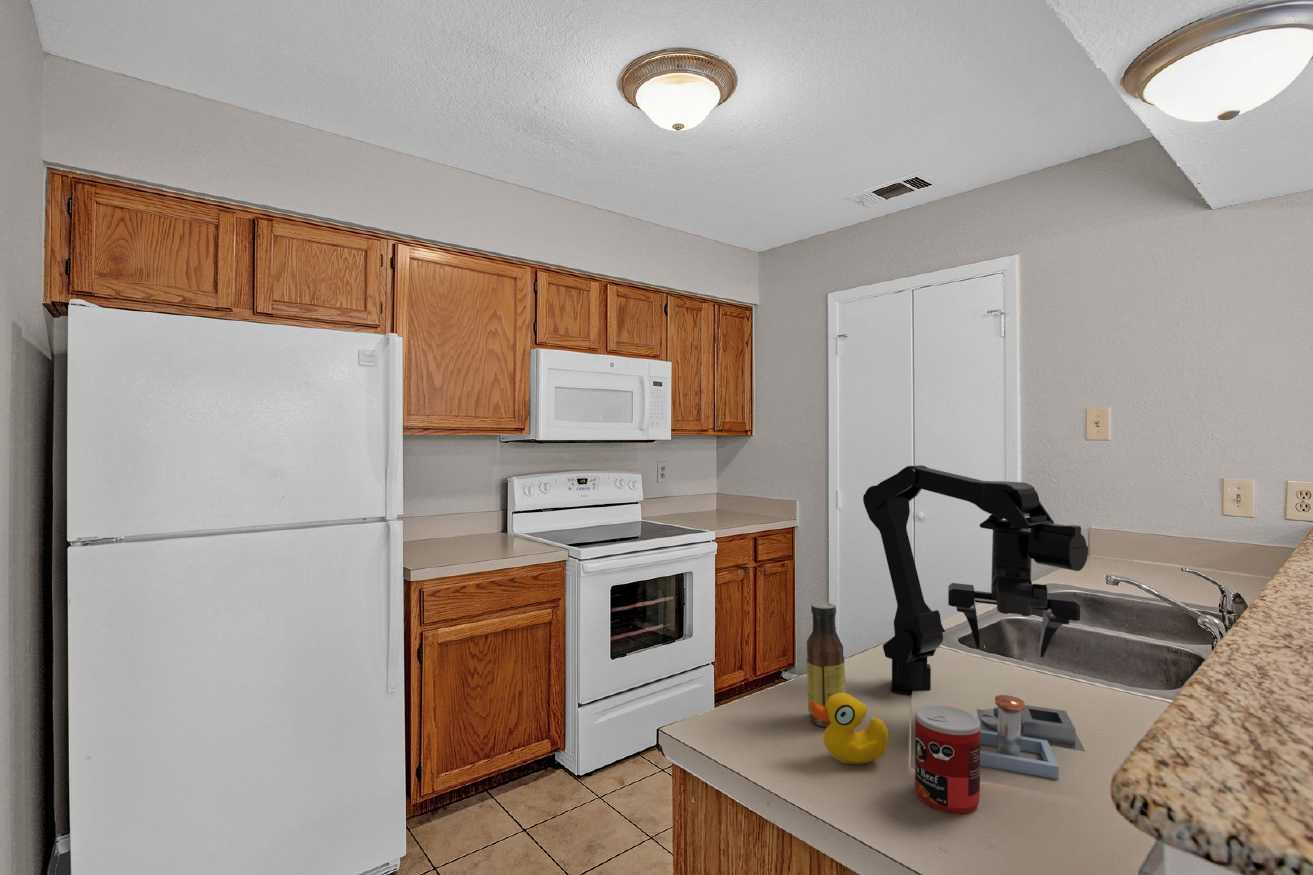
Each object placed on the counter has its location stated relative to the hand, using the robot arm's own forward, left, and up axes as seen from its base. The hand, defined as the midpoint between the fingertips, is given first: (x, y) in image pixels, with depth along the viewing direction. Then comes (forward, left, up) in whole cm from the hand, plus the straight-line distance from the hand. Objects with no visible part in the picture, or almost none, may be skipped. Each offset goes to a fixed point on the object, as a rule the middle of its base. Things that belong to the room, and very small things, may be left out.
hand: (1009, 652), depth 106 cm
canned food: (-10, -26, -13) cm, 31 cm away
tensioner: (+3, -1, -13) cm, 13 cm away
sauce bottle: (-28, -9, -13) cm, 32 cm away
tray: (-1, -12, -13) cm, 18 cm away
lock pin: (-1, -12, -12) cm, 17 cm away
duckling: (-23, -21, -13) cm, 34 cm away
